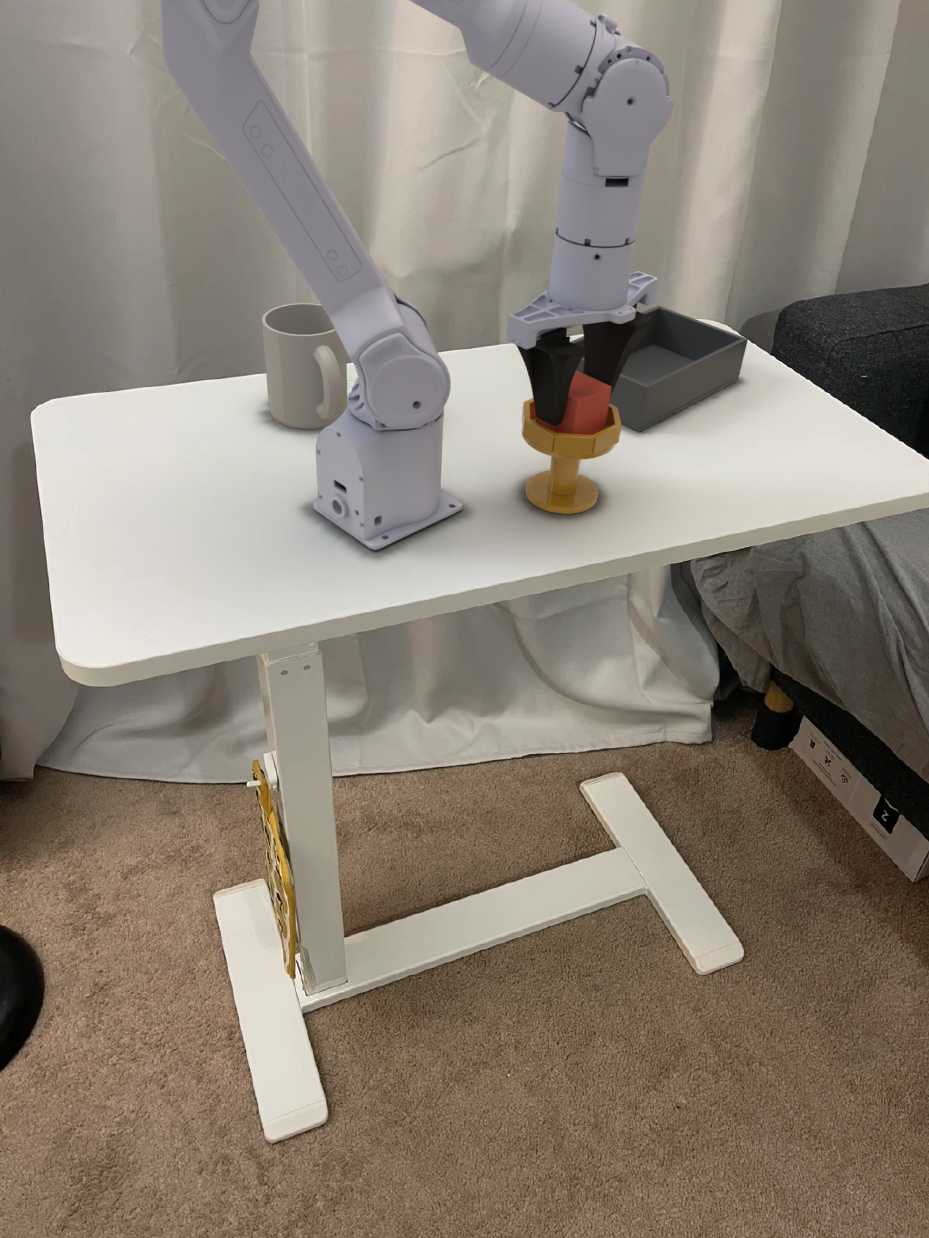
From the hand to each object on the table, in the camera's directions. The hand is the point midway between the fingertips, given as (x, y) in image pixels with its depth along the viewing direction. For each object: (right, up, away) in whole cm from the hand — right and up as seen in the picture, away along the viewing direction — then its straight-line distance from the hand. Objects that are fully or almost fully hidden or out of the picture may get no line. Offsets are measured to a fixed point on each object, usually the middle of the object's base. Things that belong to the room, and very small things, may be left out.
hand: (572, 409), depth 79 cm
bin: (+10, +7, +22) cm, 25 cm away
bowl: (0, -6, +5) cm, 8 cm away
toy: (0, -1, +1) cm, 2 cm away
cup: (-22, +2, +13) cm, 26 cm away
